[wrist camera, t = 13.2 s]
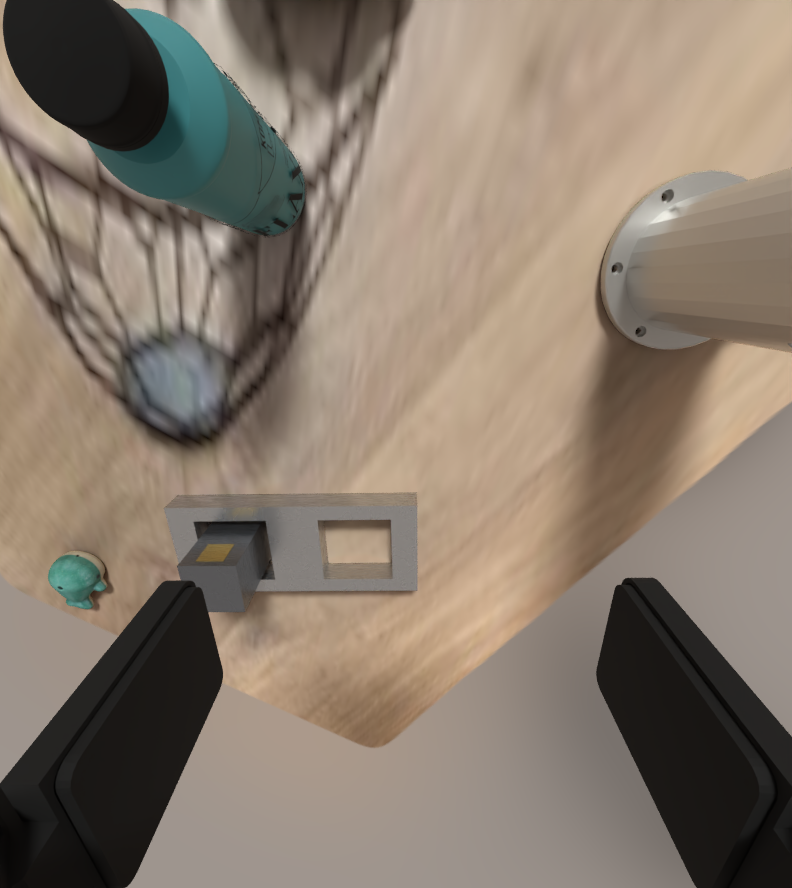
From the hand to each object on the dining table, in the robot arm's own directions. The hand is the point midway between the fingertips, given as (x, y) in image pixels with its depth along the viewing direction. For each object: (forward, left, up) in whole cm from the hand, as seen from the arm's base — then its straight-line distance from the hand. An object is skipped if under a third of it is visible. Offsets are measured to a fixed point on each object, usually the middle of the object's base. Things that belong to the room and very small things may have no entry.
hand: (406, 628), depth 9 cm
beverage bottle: (+10, -14, -28) cm, 33 cm away
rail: (+11, +17, -28) cm, 35 cm away
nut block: (+17, +17, -28) cm, 37 cm away
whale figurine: (+36, +22, -29) cm, 51 cm away
